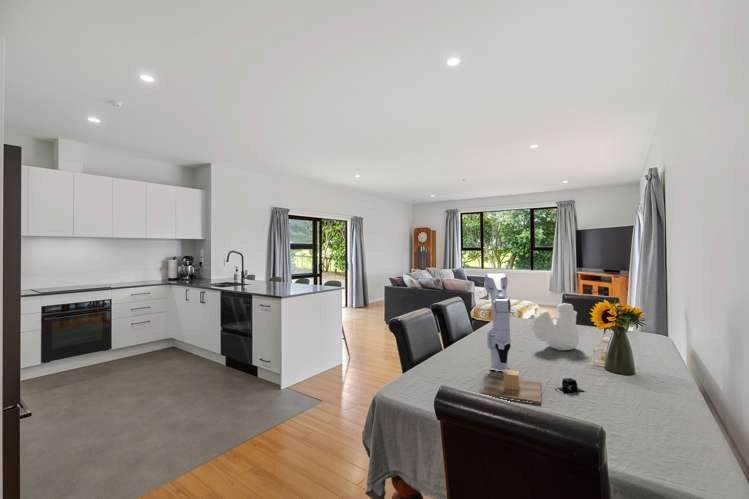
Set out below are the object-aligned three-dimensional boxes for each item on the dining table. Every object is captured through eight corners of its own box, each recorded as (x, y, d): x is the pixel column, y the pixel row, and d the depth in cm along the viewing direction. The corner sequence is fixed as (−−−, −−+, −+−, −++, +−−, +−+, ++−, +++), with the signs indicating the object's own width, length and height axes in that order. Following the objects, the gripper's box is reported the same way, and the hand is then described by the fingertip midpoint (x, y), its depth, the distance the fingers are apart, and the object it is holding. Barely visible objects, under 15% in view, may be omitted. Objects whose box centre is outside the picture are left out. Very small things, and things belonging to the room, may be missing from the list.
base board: (489, 377, 144) (489, 374, 144) (540, 384, 135) (540, 381, 135) (482, 395, 126) (482, 392, 126) (541, 405, 117) (540, 401, 117)
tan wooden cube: (505, 383, 134) (504, 369, 134) (519, 385, 132) (518, 371, 132) (504, 388, 130) (503, 373, 130) (518, 390, 127) (518, 375, 127)
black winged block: (562, 396, 124) (561, 384, 125) (548, 389, 132) (548, 377, 132) (591, 393, 126) (590, 381, 127) (576, 386, 134) (576, 374, 134)
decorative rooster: (572, 344, 188) (571, 300, 188) (586, 353, 173) (584, 305, 173) (526, 344, 192) (524, 301, 192) (535, 352, 176) (533, 305, 177)
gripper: (493, 324, 143) (494, 355, 143) (489, 332, 130) (490, 367, 130) (511, 325, 140) (512, 357, 140) (509, 333, 127) (510, 369, 127)
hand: (503, 362), depth 134 cm, fingers closed
